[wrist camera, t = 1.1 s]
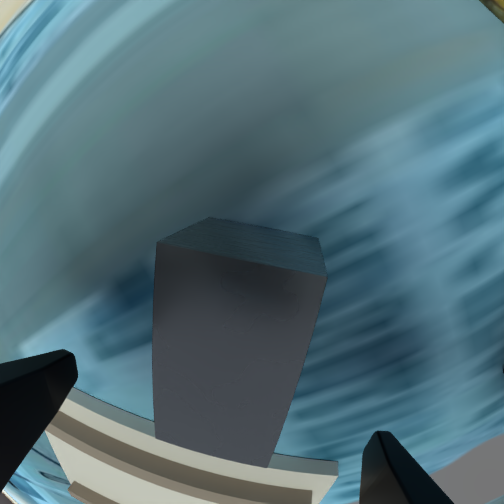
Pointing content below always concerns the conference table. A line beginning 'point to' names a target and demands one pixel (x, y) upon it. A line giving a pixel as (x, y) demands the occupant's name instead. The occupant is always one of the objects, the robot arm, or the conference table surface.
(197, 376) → the block
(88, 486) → the plate
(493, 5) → the seal
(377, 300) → the conference table surface
